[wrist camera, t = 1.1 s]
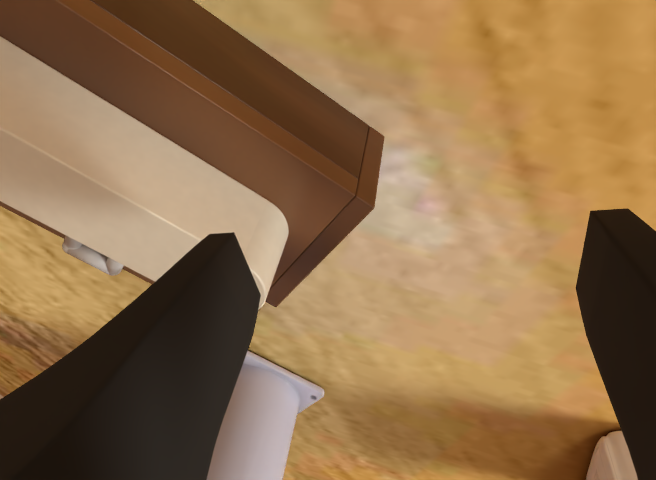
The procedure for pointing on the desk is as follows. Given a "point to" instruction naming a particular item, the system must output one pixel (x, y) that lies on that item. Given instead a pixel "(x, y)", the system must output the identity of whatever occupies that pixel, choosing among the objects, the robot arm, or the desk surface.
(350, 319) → the desk surface
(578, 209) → the desk surface
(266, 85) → the stepped wooden block
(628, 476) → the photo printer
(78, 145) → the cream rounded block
